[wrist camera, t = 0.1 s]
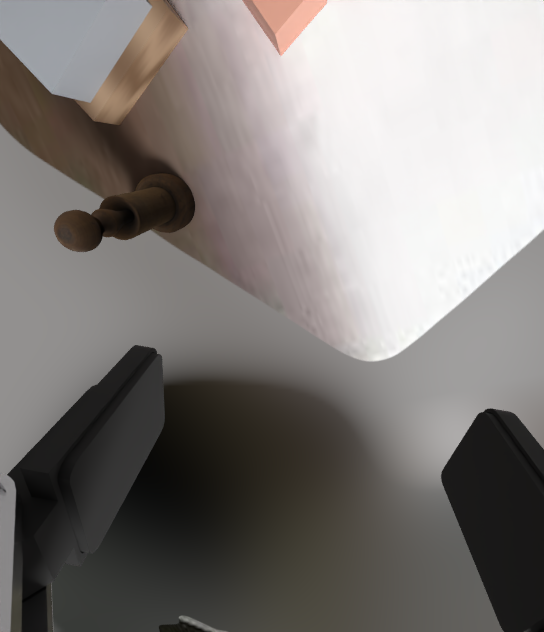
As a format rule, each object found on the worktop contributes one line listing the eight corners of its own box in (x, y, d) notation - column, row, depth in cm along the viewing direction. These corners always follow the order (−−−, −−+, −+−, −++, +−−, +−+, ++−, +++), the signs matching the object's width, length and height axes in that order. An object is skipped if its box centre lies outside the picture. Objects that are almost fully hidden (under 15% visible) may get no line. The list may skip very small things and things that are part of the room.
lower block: (88, -104, 26) (44, -156, 22) (189, 30, 30) (168, 8, 25) (28, 22, 31) (-19, 0, 27) (121, 125, 34) (94, 121, 30)
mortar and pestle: (139, 216, 39) (20, 258, 23) (147, 163, 36) (17, 169, 20) (188, 237, 39) (106, 291, 23) (201, 186, 36) (116, 209, 20)
